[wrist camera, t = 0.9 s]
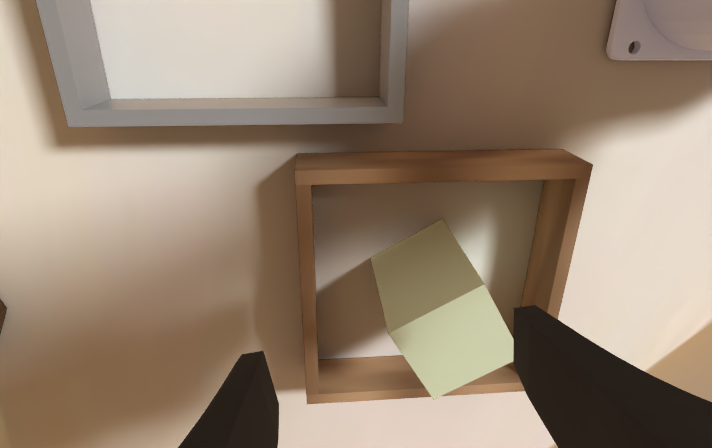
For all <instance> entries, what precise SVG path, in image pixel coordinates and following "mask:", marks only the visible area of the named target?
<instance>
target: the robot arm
mask: <svg viewBox="0 0 712 448" xmlns="http://www.w3.org/2000/svg"><path fill="white" fill-rule="evenodd" d="M632 42H634V44H635V47H634V49H633V51H632V52H631V53H629V51H628V48H629V45H630V44H631V43H632ZM606 52H607V55H608V57H609V58H610V59H613V60H712V0H617V2H616V6H615V11H614V15H613V20H612V25H611V29H610V34H609V38H608V43H607V49H606ZM513 364H514V366H515V369H516V371H517V373H518V376H519V378H520V380H521V383H522V385H523V387H524V389H525V391H526V394H527V396H528V398H529V399H530V401H531V403H532V404H533V406H534V408H535V410H536V411H537V413H538V415H539V416H540V418H541V420H542V421H543V423H544V425H545V426H546V428H547V430H548V431H549V433H550V435H551V436H552V438H553V440H554V441H555V443H556V444H557V446H558V448H712V402H710V401H707V400H705V399H702V398H700V397H697V396H695V395H692V394H690V393H688V392H686V391H683V390H681V389H679V388H677V387H675V386H673V385H671V384H669V383H666V382H664V381H662V380H660V379H658V378H656V377H654V376H652V375H650V374H648V373H646V372H644V371H642V370H640V369H638V368H636V367H635V366H633V365H631V364H629V363H627V362H626V361H624V360H622V359H620V358H618V357H617V356H615V355H613V354H611V353H610V352H608V351H606V350H605V349H603V348H601V347H600V346H598V345H596V344H595V343H593V342H592V341H590V340H588V339H587V338H585V337H584V336H582V335H580V334H579V333H577V332H576V331H574V330H573V329H571V328H570V327H568V326H567V325H565V324H563V323H562V322H560V321H559V320H557V319H556V318H554V317H553V316H551V315H550V314H548V313H547V312H545V311H544V310H542V309H541V308H539V307H537V306H536V305H531V306H525V307H519V308H514V354H513ZM278 429H279V403H278V400H277V396H276V393H275V389H274V386H273V383H272V379H271V376H270V372H269V369H268V366H267V362H266V359H265V355H264V352H263V351H259V352H254V353H248V354H242V355H241V356H240V358H239V359H238V361H237V362H236V364H235V365H234V367H233V369H232V370H231V372H230V373H229V375H228V377H227V378H226V380H225V381H224V383H223V385H222V386H221V388H220V389H219V391H218V392H217V394H216V395H215V397H214V398H213V400H212V401H211V403H210V404H209V406H208V407H207V409H206V410H205V412H204V413H203V415H202V416H201V418H200V419H199V420H198V422H197V423H196V424H195V426H194V427H193V428H192V430H191V431H190V432H189V434H188V435H187V437H186V438H185V439H184V441H183V442H182V443H181V445H180V446H179V447H178V448H277V445H278Z"/></svg>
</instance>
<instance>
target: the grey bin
mask: <svg viewBox="0 0 712 448" xmlns="http://www.w3.org/2000/svg"><path fill="white" fill-rule="evenodd" d="M36 3H37V7H38V11H39V15H40V19H41V23H42V26H43V30H44V34H45V38H46V42H47V46H48V50H49V54H50V58H51V61H52V65H53V69H54V73H55V77H56V81H57V85H58V89H59V92H60V96H61V100H62V104H63V108H64V112H65V116H66V120H67V123H68V127H121V126H204V125H287V124H369V123H403V114H404V93H405V72H406V51H407V30H408V10H409V0H382V13H381V52H380V91H379V97H328V98H195V99H111V98H110V93H109V88H108V84H107V79H106V74H105V69H104V65H103V60H102V55H101V51H100V46H99V41H98V37H97V32H96V27H95V23H94V18H93V13H92V9H91V4H90V0H36Z"/></svg>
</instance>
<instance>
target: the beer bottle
mask: <svg viewBox="0 0 712 448" xmlns="http://www.w3.org/2000/svg"><path fill="white" fill-rule="evenodd" d="M6 310H7V307H6V306H5V305H4V303H3V302H2V301H1V300H0V333H1V330H2V326H3V322H4V319H5V315H6Z"/></svg>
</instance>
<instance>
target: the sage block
mask: <svg viewBox="0 0 712 448" xmlns="http://www.w3.org/2000/svg"><path fill="white" fill-rule="evenodd" d="M371 262H372V266H373V271H374V275H375V279H376V283H377V288H378V292H379V296H380V300H381V305H382V309H383V313H384V318H385V322H386V326H387V330H388V334H389V335H390V337H391V338H392V340H393V341H394V343H395V344H396V346H397V347H398V348H399V350H400V351H401V353H402V354H403V356H404V357H405V359H406V360H407V362H408V363H409V364H410V366H411V367H412V369H413V370H414V372H415V373H416V375H417V376H418V378H419V379H420V381H421V382H422V383H423V385H424V386H425V388H426V389H427V391H428V392H429V394H430V395H431V397H432V398H433V399H436V398H438V397H440V396H442V395H444V394H446V393H448V392H450V391H452V390H455V389H457V388H459V387H461V386H463V385H465V384H467V383H469V382H471V381H473V380H475V379H477V378H479V377H482V376H484V375H486V374H488V373H490V372H492V371H494V370H496V369H498V368H500V367H502V366H504V365H507V364H509V363H511V362H513V354H514V339H513V337H512V335H511V333H510V332H509V330H508V328H507V326H506V324H505V322H504V320H503V318H502V316H501V314H500V313H499V311H498V309H497V307H496V305H495V303H494V301H493V299H492V297H491V296H490V294H489V292H488V290H487V288H486V286H485V284H484V283H483V281H482V280H481V278H480V276H479V275H478V273H477V272H476V270H475V269H474V267H473V266H472V264H471V262H470V261H469V259H468V258H467V256H466V255H465V253H464V252H463V250H462V249H461V247H460V245H459V244H458V242H457V241H456V239H455V238H454V236H453V235H452V233H451V232H450V230H449V228H448V227H447V225H446V224H445V222H444V221H443V219H441V220H439V221H437V222H435V223H433V224H432V225H430V226H428V227H426V228H424V229H422V230H421V231H419V232H417V233H415V234H413V235H411V236H409V237H408V238H406V239H404V240H402V241H400V242H398V243H397V244H395V245H393V246H391V247H389V248H387V249H385V250H384V251H382V252H380V253H378V254H376V255H374V256H373V257H371Z"/></svg>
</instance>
